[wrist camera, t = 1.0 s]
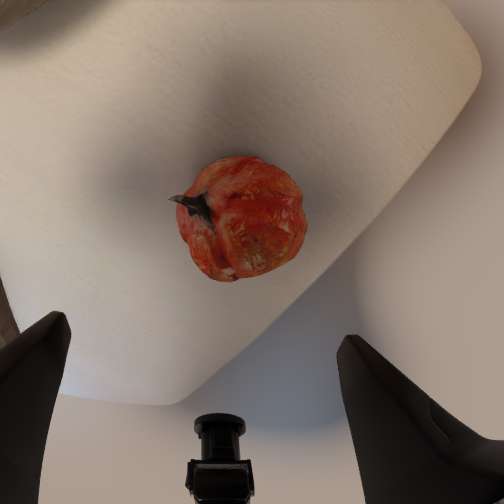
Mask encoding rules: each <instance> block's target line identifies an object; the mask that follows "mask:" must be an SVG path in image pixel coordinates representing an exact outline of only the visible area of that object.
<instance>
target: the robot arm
mask: <svg viewBox="0 0 504 504" xmlns="http://www.w3.org/2000/svg"><path fill="white" fill-rule="evenodd" d="M70 340H71V329H70V327H69V324H68V321H67V318H66V315H65V314H64V313H63V312H59V311H52V312H50V313H49V314H48V315H46V316H45V317H43V318H42V319H40V320H39V321H38V322H36V323H35V324H33V325H32V326H31V327H29V328H28V329H26V330H25V331H24V332H22V333H21V334H20V335H18V336H17V337H16V338H14V339H13V340H11V341H10V342H9V343H7V344H6V345H5V346H4V347H2V348H1V349H0V504H38V495H39V485H40V476H41V469H42V462H43V455H44V450H45V445H46V439H47V434H48V430H49V426H50V421H51V417H52V413H53V408H54V405H55V401H56V397H57V394H58V390H59V387H60V384H61V380H62V376H63V372H64V367H65V362H66V357H67V353H68V349H69V344H70ZM337 364H338V370H339V378H340V385H341V392H342V397H343V402H344V406H345V410H346V414H347V418H348V422H349V427H350V431H351V435H352V439H353V444H354V448H355V453H356V457H357V462H358V466H359V471H360V476H361V481H362V486H363V491H364V496H365V502H366V504H504V440H490V439H487V438H484V437H482V436H480V435H479V434H477V433H476V432H475V431H473V430H472V429H470V428H469V427H468V426H466V425H465V424H463V423H462V422H460V421H459V420H458V419H456V418H455V417H454V416H452V415H451V414H450V413H448V412H447V411H446V410H445V409H444V408H442V407H441V406H440V405H439V404H438V403H436V402H435V401H434V400H433V399H432V398H430V397H429V396H428V395H427V394H426V393H425V392H424V391H423V390H421V389H420V388H419V387H418V386H417V385H416V384H414V383H413V382H412V381H411V380H410V379H408V377H406V376H405V375H404V374H403V373H402V372H401V371H399V370H398V369H397V368H396V367H395V366H394V365H393V364H391V363H390V362H389V361H388V360H387V359H385V358H384V357H383V356H382V355H381V354H380V353H378V352H377V351H376V350H375V349H374V348H373V347H372V346H371V345H369V344H368V343H367V342H366V341H365V340H364V339H362V338H361V337H360V336H358V335H346V336H345V337H344V339H343V341H342V343H341V345H340V347H339V349H338V351H337ZM243 428H244V424H242V423H221V422H207V421H201V422H200V426H199V434H198V438H199V439H201V441H202V442H201V444H202V445H201V450H202V451H201V452H202V453H201V460H195V459H191V462H188V468H187V477H186V483H185V486H186V487H187V489H189V492H190V495H191V496H194V499H195V503H196V504H250V497H252V496H254V481H253V473H252V467H251V460H250V459H247V460H240V449H239V437H240V434H241V432H242V430H243Z"/></svg>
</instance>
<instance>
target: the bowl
mask: <svg viewBox="0 0 504 504" xmlns="http://www.w3.org/2000/svg"><path fill="white" fill-rule="evenodd" d="M45 1H46V0H0V31H2V30H3V29H5V28H7V27H9V26H10V25H12V24H13V23H15V22H17V21H18V20H20V19H21V18H23V17H24V16H26V15H27V14H29V13H30V12H32V11H33V10H35V9H36V8H37V7H39V6H40V5H42V4H43V3H44V2H45Z"/></svg>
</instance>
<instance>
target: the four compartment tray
mask: <svg viewBox="0 0 504 504" xmlns="http://www.w3.org/2000/svg"><path fill="white" fill-rule="evenodd" d="M18 335H20V333H19V330H18V328H17V325H16V323H15V320H14V318H13V315H12V312H11V310H10V307H9V304H8V301H7V298H6V295H5V292H4V289H3V286H2V282H1V279H0V349H1V348H2V347H4V346H5V345H6V344H7V343H9V342H10V341H11V340H13V339H14V338H16V337H17V336H18Z"/></svg>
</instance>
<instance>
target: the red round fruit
mask: <svg viewBox="0 0 504 504" xmlns="http://www.w3.org/2000/svg"><path fill="white" fill-rule="evenodd" d="M168 200H172V201H175V202H177V209H176V219H177V222H178V227H179V231H180V234H181V236H182V238H183V240H184V241H185V242H186V243H187V244H188V245H189V249H190V254H191V257H192V259H193V261H194V262H195V264H196V265H197V266H198V267H199V268H200V270H201V271H202V272H203V273H204V274H206V275H207V276H208V277H209V278H211V279H213V280H217V281H221V282H233V281H236V280H238V279H241V278H249V277H254V276H258V275H262V274H264V273H267V272H269V271H271V270H274V269H276V268H277V267H279V266H281V265H283V264H285V263H287V262H288V261H290V260H292V259H293V258H294V257H295V256H296V254H297V253H298V251H299V250H300V248H301V246H302V244H303V242H304V236H305V234H306V232H307V222H306V217H305V213H304V210H303V207H302V200H303V195H302V193H301V190H300V189H299V187H298V186H297V185H296V183H295V181H293V180H292V178H291V177H290V176H289V175H288V174H287V173H286V172H285V171H283V170H281V169H280V168H278V167H276V166H274V165H268V164H267V163H266V162H264V160H262V159H261V158H259V157H255V156H240V157H229V158H223V159H219V160H216V161H215V162H213V163H212V164H210V165H209V166H208V167H206V168H205V169H203V170H202V171H200V172H199V173H198V176H197V178H196V181H195V183H194V185H193V186H192V187H191V188H190V189H189V190H187V191H186V193H184V194H183V195H176V196H173V197H171V198H169V199H168Z"/></svg>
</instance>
